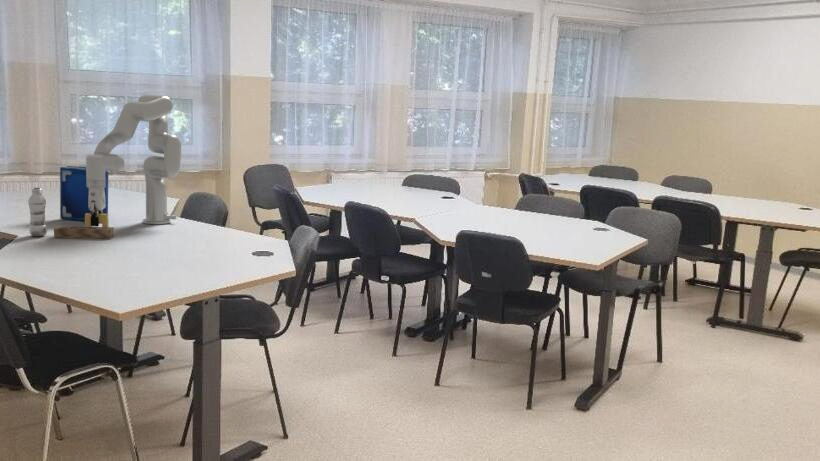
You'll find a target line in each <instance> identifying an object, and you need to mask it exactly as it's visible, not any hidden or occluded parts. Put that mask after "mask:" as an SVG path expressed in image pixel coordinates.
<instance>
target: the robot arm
mask: <svg viewBox="0 0 820 461" xmlns="http://www.w3.org/2000/svg"><path fill="white" fill-rule="evenodd" d="M173 106H174V104H173V101H172V99H171V98H170V97H168V96H166V95H158V94H143V95H141V96H139V97H138V101H127V103H125V104H124V105H123V107H122V110H121V111H120V114H119V116H118V118H117V121H116V123H115V125H114V126H113V129H112V130H111V131H110V132H108V134H106V135H105V136H104V137H102V139H101V140H100V141H99V142H98V144H97V145H96V148H95V149H94V152H93V154H89V155H86V158H85V167H86V183H87V187H88V188H89V198H88V203H89V210H90V211H91V215H90V218H91V226H92V227H100V224H99V217H98V214H103V211H102V210H103V209H104V208H105V207H106V203H105V190H104V188H105V187H106V183H105V171H108V172H114V173H115V172H119V171H121V170H122V169H123V168H124V166H125V161H124V158H123V157H122V156H121V155H119V154H114V153H112V151H113V150H114V149H115V148H116V147H117V146H119V145H121V144H124V143H126V142H128V141H131V140H132V139H133V137H134V135H135V133H136V130H137V128H138V125H139V123H140V122H148V137H147V148H148V150H149V151H150V152H152V153H154V154H159V155H163V156H159V155H158V156H157V155H151V156H148V157H147V158H145V160H144V161H143V165H142V169H143V173H144V179H145V180H144V181H145V218H143V219H142V223H143V224H146V225H166V224H170V223H171V220H177V215H175V214H173V215H171V214H169V212H168V191H167V190H168V185H167V181H166V178H167V179H174V178H176V177H177V176H178V174H179V173H180V168H181V156H182V143H181V140H180V139H179V137H178V136H177V135H175V134H173V133H169V122H168V118H167V115H168V114H170V113H171V112H172V110H173ZM94 209H95V210H94Z"/></svg>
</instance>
